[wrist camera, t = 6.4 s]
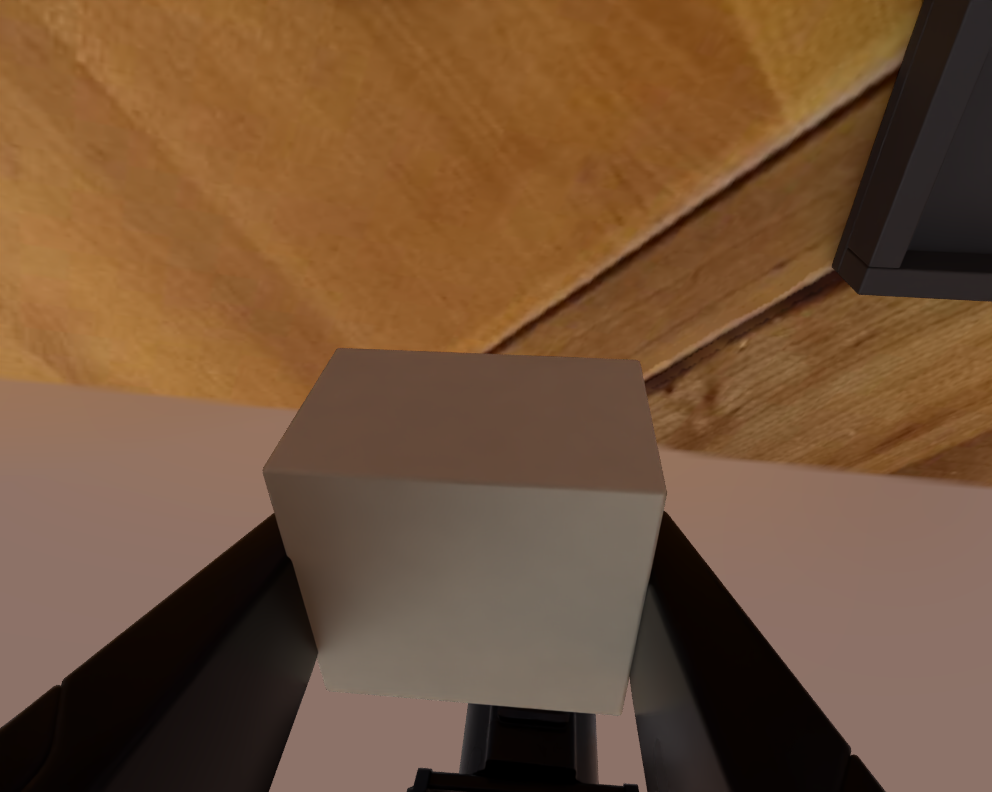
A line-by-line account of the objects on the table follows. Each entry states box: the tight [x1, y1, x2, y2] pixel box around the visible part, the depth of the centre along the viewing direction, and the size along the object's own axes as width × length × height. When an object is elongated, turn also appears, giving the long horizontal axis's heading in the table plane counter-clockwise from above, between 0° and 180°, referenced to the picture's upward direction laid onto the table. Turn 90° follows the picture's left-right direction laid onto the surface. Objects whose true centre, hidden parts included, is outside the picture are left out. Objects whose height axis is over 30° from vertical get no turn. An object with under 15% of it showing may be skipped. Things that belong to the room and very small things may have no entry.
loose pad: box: [263, 348, 667, 716], centre depth 8 cm, size 4×4×2 cm
